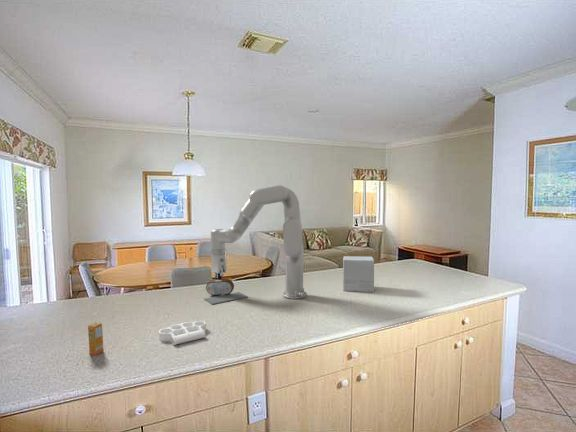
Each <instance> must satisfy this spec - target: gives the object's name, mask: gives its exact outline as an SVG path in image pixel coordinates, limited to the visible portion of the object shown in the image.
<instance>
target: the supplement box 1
mask: <svg viewBox="0 0 576 432" xmlns="http://www.w3.org/2000/svg"><path fill="white" fill-rule="evenodd" d="M87 332H88V335H87V336H88V346H89V347H88V349H89V350H88V351H89V353H88V354H90V355H94V356H97V355H99V354H101V353H103V352H104V336H103V335H104V334H103V323H102V322H100V323H99V322H93V323H91V324H88V325H87Z"/></svg>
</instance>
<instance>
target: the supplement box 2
mask: <svg viewBox="0 0 576 432" xmlns="http://www.w3.org/2000/svg"><path fill="white" fill-rule="evenodd" d="M342 262H343V263H342V267H343V268H342V290H343V292H361V293H362V292H365V293H366V292H367V293H374V292H375V260H374V257H373V256H363V255H362V256H356V255H354V256H353V255H352V256H351V255H348V256H347V255H344V256H343V258H342Z"/></svg>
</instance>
